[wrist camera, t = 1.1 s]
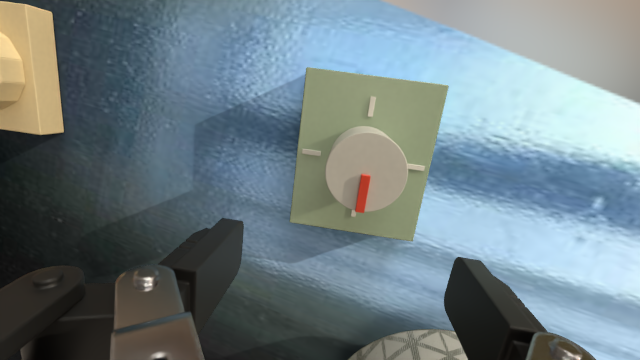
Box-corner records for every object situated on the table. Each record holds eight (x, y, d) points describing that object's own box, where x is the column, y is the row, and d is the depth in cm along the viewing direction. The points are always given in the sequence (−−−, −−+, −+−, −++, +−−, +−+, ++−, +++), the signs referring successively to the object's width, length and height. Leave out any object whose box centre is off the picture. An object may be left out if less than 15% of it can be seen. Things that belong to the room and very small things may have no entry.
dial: (334, 121, 22) (330, 127, 17) (402, 131, 22) (417, 139, 17) (325, 186, 23) (319, 207, 19) (389, 195, 23) (399, 219, 18)
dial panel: (311, 71, 24) (306, 66, 21) (436, 87, 24) (449, 85, 21) (295, 209, 27) (289, 223, 24) (405, 226, 27) (413, 242, 24)
